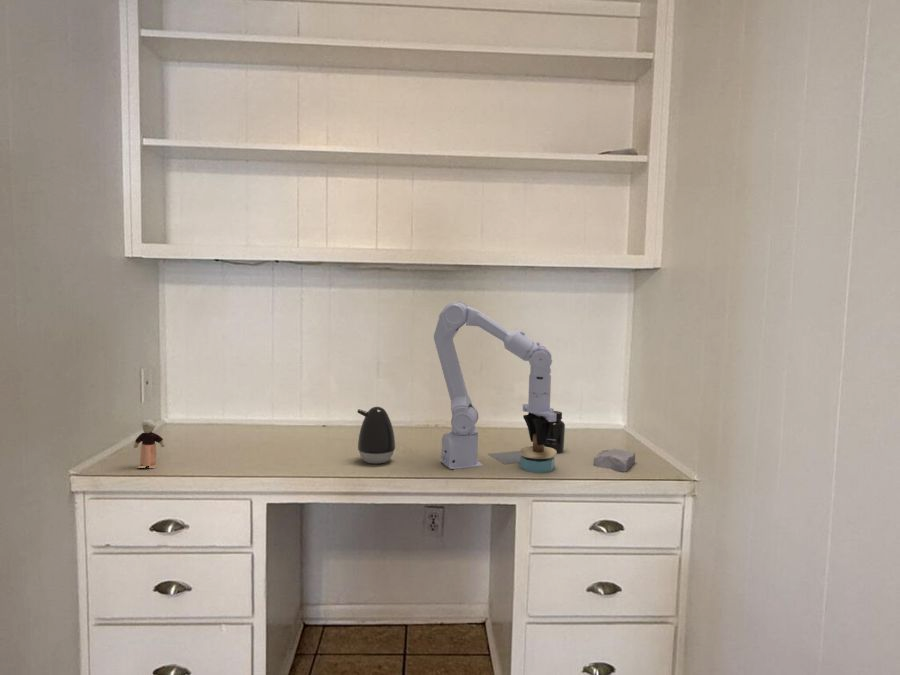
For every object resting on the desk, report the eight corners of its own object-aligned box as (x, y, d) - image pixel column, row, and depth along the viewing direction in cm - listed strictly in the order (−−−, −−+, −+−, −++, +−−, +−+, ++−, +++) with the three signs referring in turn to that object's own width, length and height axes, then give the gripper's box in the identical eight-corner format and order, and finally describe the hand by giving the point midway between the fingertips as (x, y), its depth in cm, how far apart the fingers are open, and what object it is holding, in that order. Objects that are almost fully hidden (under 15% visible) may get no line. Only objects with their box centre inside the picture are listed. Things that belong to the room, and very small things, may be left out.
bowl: (530, 475, 160) (531, 462, 159) (515, 466, 167) (516, 454, 167) (559, 472, 163) (559, 460, 162) (542, 463, 170) (543, 452, 170)
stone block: (591, 474, 168) (629, 473, 163) (589, 457, 168) (626, 455, 163) (602, 465, 178) (638, 463, 173) (600, 449, 178) (635, 446, 174)
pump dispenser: (359, 455, 174) (360, 402, 173) (396, 456, 174) (397, 403, 173) (354, 466, 164) (354, 410, 163) (393, 467, 164) (393, 410, 163)
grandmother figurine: (131, 470, 157) (130, 421, 156) (134, 466, 160) (133, 418, 159) (164, 468, 159) (163, 420, 158) (166, 464, 162) (166, 417, 161)
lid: (530, 460, 159) (530, 440, 158) (514, 451, 168) (514, 432, 167) (563, 456, 162) (563, 437, 161) (545, 447, 171) (545, 429, 170)
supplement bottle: (546, 455, 179) (547, 414, 178) (536, 449, 185) (538, 410, 184) (567, 454, 180) (569, 413, 179) (557, 448, 187) (559, 409, 186)
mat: (504, 465, 168) (504, 464, 168) (487, 455, 178) (487, 453, 178) (539, 462, 172) (539, 460, 172) (521, 452, 182) (521, 450, 182)
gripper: (567, 396, 158) (565, 448, 159) (539, 387, 172) (537, 435, 173) (543, 397, 155) (541, 450, 157) (516, 388, 169) (515, 437, 170)
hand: (538, 442), depth 164 cm, fingers closed on lid, 3 cm apart
